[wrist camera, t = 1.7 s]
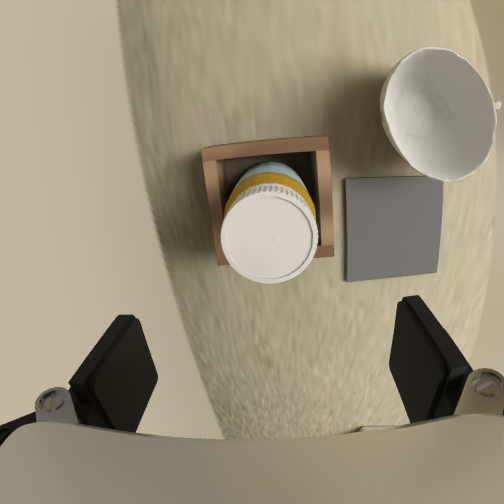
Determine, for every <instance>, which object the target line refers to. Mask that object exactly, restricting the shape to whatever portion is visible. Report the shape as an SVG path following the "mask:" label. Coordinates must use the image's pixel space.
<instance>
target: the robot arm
mask: <svg viewBox="0 0 504 504" xmlns="http://www.w3.org/2000/svg"><path fill="white" fill-rule="evenodd" d="M389 367H390V371H391V373H392V376H393V378H394V381H395V383H396V386H397V388H398V391H399V394H400V396H401V399H402V402H403V404H404V407H405V410H406V412H407V415H408V418H409V420H410V424H405V425H400V426H394V427H388V428H382V429H376V430H369V431H363V432H356V433H348V434H340V435H331V436H320V437H308V438H293V439H271V440H218V439H217V440H216V439H197V438H182V437H170V436H159V435H150V434H141V433H136V430H137V428H138V425H139V423H140V420H141V418H142V416H143V414H144V411H145V409H146V407H147V404H148V402H149V399H150V397H151V395H152V392H153V390H154V388H155V385H156V383H157V380H158V374H157V371H156V368H155V365H154V362H153V360H152V357H151V354H150V351H149V348H148V345H147V342H146V339H145V336H144V333H143V330H142V326H141V323H140V321H139V319H137V318H135V316H134V315H118V316H117V317H116V319H115V320H114V321H113V322H112V324H111V325H110V326H109V328H108V329H107V330H106V332H105V333H104V334H103V336H102V337H101V338H100V340H99V341H98V342H97V344H96V345H95V346H94V348H93V349H92V351H91V352H90V353H89V355H88V356H87V357H86V359H85V360H84V361H83V363H82V364H81V366H80V367H79V368H78V370H77V371H76V373H75V374H74V375H73V377H72V378H71V380H70V381H69V384H70V386H71V387H70V389H69V390H67V389H65V388H62V387H54V388H50V389H48V390H46V391H44V392H43V393H42V394H41V395H40V396H39V397H38V398H37V400H36V402H35V412H33V413H31V414H28V415H26V416H23V417H21V418H18V419H16V420H13V421H11V422H8V423H6V424H3V425H1V426H0V504H504V377H503V375H502V374H500V373H499V372H497V371H495V370H492V369H487V368H482V369H477V370H474V371H473V369H472V368H471V366H470V365H469V363H468V362H467V360H466V359H465V357H464V356H463V354H462V353H461V351H460V350H459V349H458V347H457V346H456V344H455V343H454V341H453V340H452V338H451V337H450V336H449V334H448V333H447V331H446V330H445V329H444V328H443V327H442V326H441V324H440V323H439V322H438V320H437V319H436V318H435V316H434V315H433V313H432V312H431V311H430V309H429V308H428V307H427V305H426V304H425V303H424V301H423V300H422V299H421V297H420V296H419V295H415V296H407V297H403V299H402V301H400V302H398V304H397V311H396V319H395V327H394V334H393V341H392V347H391V353H390V359H389Z"/></svg>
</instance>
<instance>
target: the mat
mask: <svg viewBox="0 0 504 504" xmlns="http://www.w3.org/2000/svg"><path fill="white" fill-rule="evenodd" d="M345 201H346V281H347V282H353V281H363V280H373V279H383V278H393V277H402V276H411V275H420V274H428V273H437V265H438V256H439V246H440V235H441V222H442V204H443V181H441V180H436V179H432V178H429V177H427V176H393V177H365V178H345Z"/></svg>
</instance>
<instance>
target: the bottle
mask: <svg viewBox="0 0 504 504" xmlns="http://www.w3.org/2000/svg"><path fill="white" fill-rule="evenodd" d="M220 236H221V246H222V249H223V252H224V255H225V257H226V259H227V260H228V262H229V263H230V265H231V266H232V267H233V268H234V269H235V270H236V271H237V272H238V273H240V274H241V275H242V276H244V277H246V278H248V279H250V280H253V281H256V282H260V283H279V282H283V281H286V280H289V279H291V278H293V277H295V276H297V275H298V274H300V273H301V272H302V271H303V270H304V269H305V268H306V267H307V266H308V265H309V263H310V262H311V260H312V259H313V257H314V254H315V252H316V248H317V243H318V230H317V224H316V214H315V207H314V203H313V201H312V199H311V197H310V195H309V193H308V191H307V189H306V187H305V185H304V184H303V182H302V180H301V178H300V177H299V175H298V174H297V173H296V172H295V171H294V170H293V169H292V168H291V167H289V166H287V165H285V164H283V163H281V162H275V161H266V162H261V163H258V164H256V165H254V166H252V167H251V168H249V169H248V170H247V171H246V172H245V173H244V174H243V176H242V177H241V179H240V180H239V182H238V183H237V185H236V186H235V188H234V190H233V191H232V193H231V195H230V197H229V199H228V201H227V203H226V207H225V214H224V220H223V223H222V228H221V234H220Z"/></svg>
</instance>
